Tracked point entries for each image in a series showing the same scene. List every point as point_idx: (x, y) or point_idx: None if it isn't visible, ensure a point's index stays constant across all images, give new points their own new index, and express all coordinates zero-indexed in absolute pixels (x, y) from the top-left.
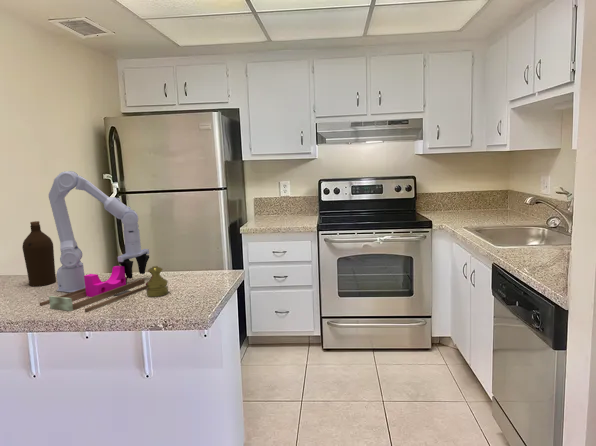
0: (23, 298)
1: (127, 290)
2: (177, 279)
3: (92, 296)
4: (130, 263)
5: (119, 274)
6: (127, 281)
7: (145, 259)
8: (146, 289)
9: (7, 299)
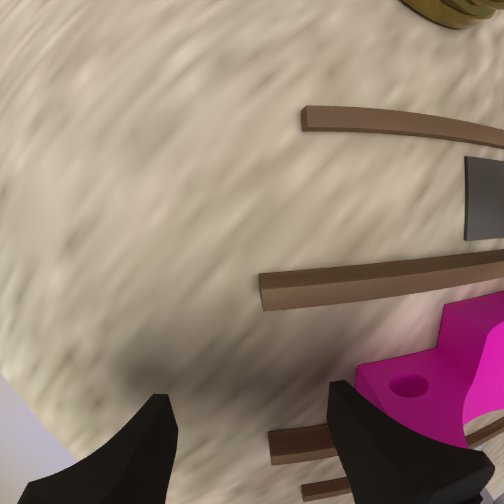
0: (493, 480)
1: (469, 228)
2: (59, 80)
3: None
4: (459, 461)
5: (457, 414)
6: (268, 433)
7: (102, 495)
8: (494, 11)
9: (491, 491)
